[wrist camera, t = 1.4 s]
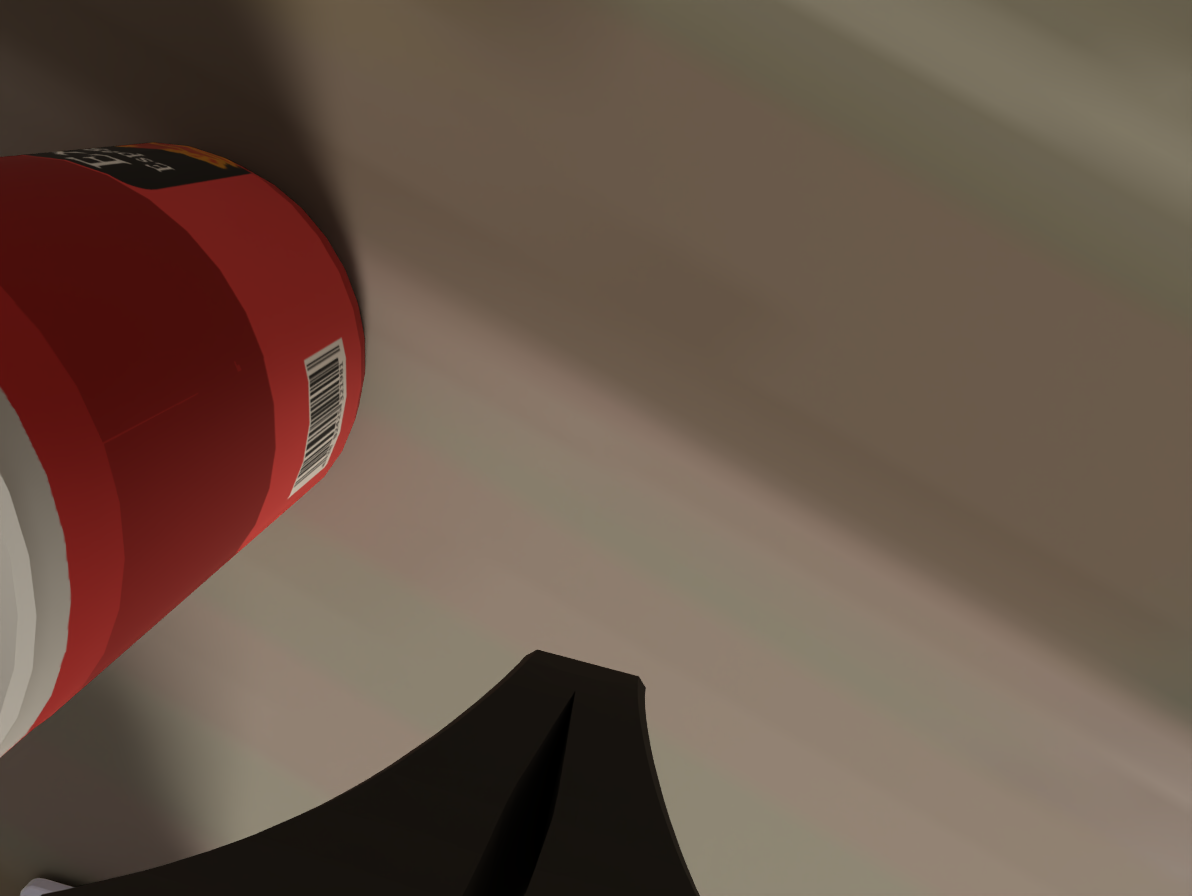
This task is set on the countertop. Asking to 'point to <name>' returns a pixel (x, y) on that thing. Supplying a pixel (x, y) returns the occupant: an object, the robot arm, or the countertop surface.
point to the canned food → (150, 395)
